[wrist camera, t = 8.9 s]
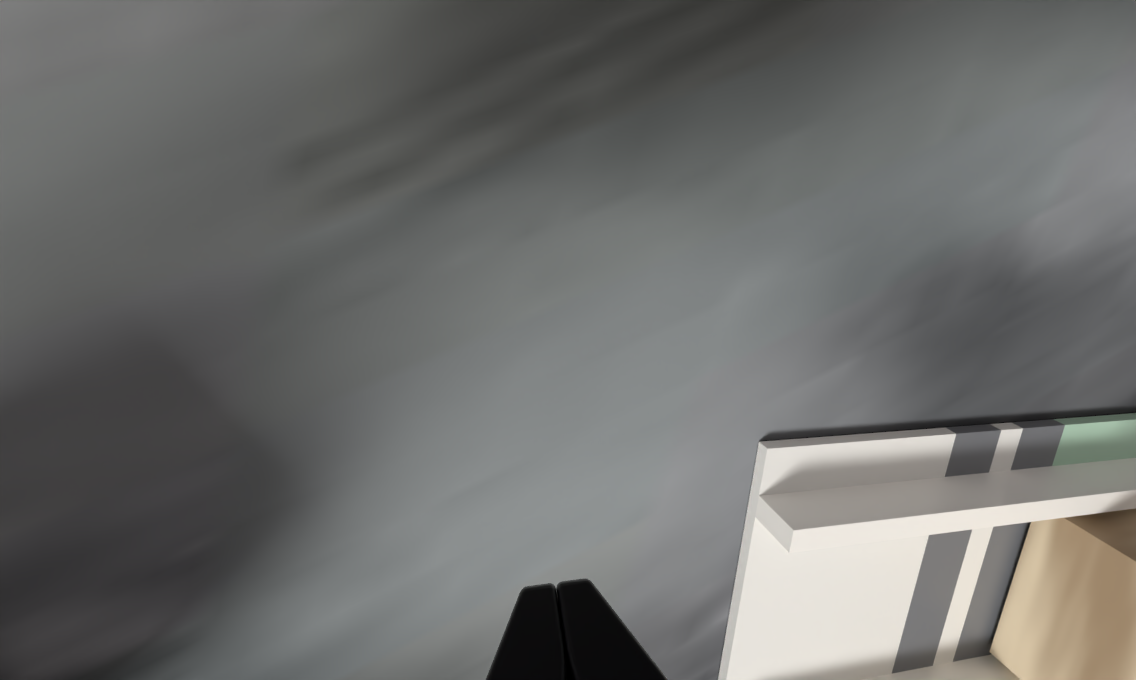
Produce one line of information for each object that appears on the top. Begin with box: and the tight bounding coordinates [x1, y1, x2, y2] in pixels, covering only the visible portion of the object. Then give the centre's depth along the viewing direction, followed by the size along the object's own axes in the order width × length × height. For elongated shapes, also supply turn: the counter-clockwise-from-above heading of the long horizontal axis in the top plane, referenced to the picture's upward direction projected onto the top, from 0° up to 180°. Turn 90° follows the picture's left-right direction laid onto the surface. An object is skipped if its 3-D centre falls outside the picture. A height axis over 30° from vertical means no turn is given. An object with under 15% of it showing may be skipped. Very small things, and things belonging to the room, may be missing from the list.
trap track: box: [718, 413, 1136, 680], centre depth 27 cm, size 18×13×2 cm
